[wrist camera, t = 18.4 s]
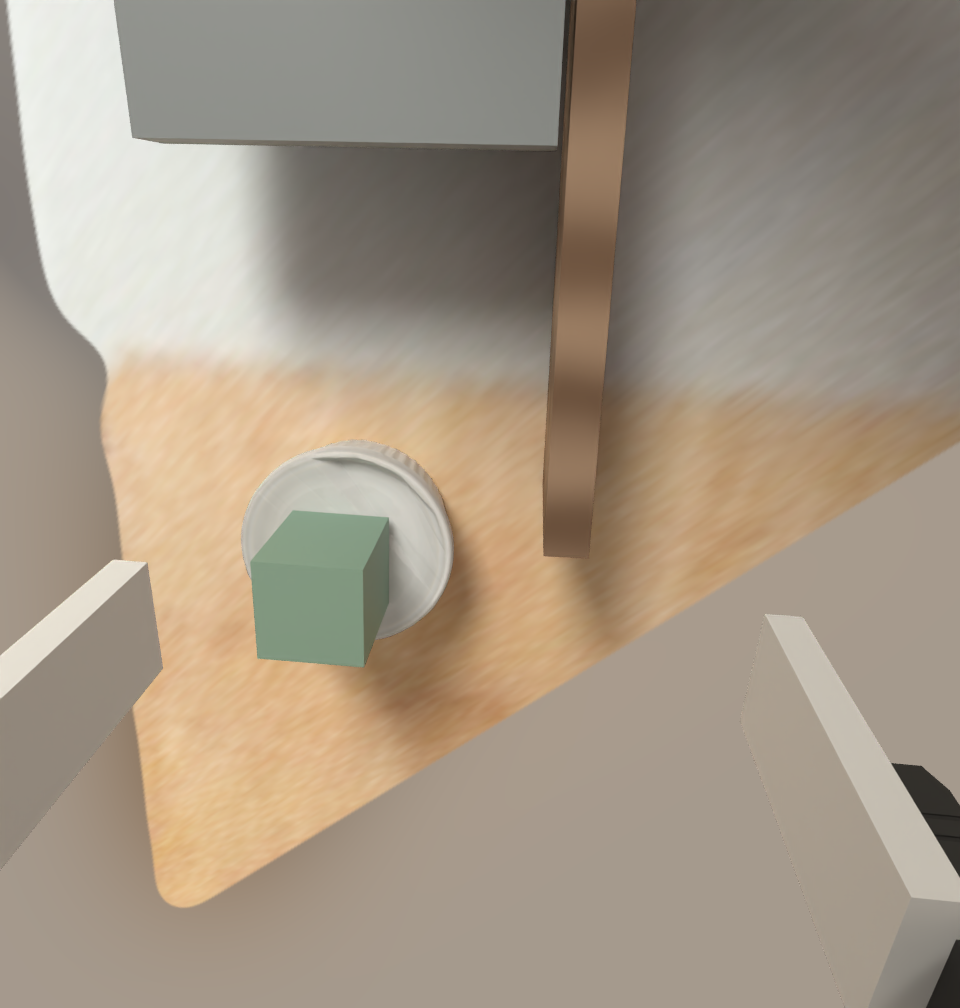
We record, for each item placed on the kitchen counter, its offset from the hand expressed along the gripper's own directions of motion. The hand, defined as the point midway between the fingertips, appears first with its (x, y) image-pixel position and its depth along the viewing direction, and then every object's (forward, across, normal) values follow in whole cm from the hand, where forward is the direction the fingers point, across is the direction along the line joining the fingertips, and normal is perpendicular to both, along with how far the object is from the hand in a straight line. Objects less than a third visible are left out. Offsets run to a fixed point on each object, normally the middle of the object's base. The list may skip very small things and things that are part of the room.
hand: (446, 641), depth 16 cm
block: (+20, -8, -9) cm, 24 cm away
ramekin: (+26, -8, -9) cm, 28 cm away
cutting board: (+26, +3, +8) cm, 27 cm away
